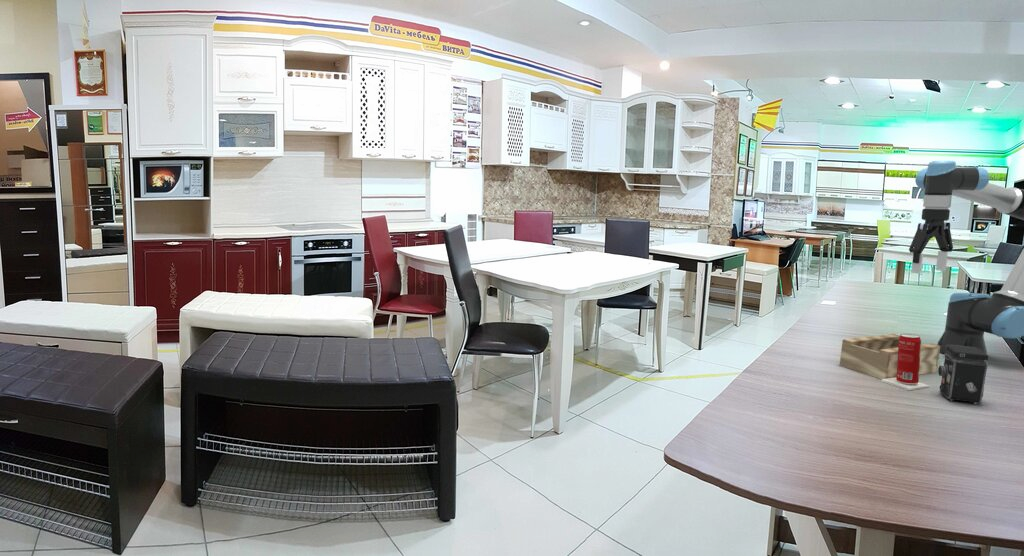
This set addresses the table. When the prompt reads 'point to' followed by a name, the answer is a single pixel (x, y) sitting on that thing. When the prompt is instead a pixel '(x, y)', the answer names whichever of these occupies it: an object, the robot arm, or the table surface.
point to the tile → (904, 386)
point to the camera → (963, 373)
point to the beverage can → (908, 359)
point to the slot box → (883, 356)
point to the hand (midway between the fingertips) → (928, 271)
